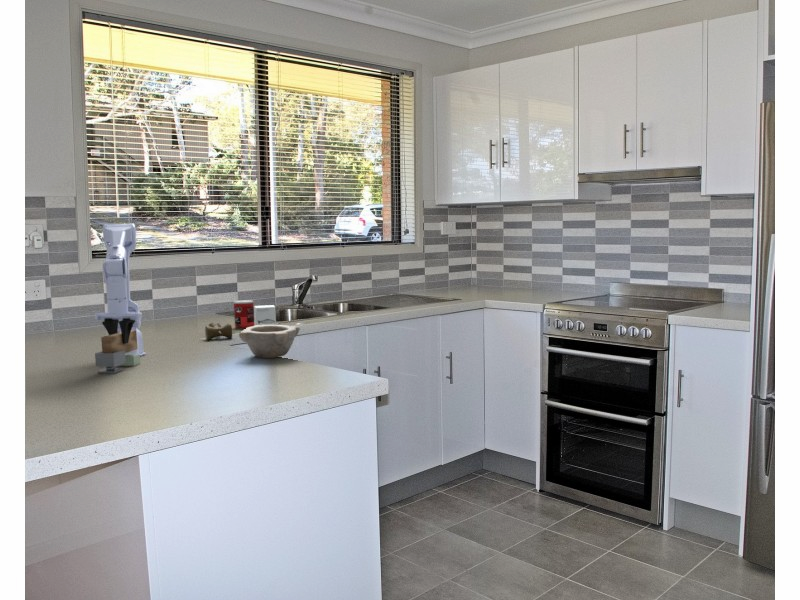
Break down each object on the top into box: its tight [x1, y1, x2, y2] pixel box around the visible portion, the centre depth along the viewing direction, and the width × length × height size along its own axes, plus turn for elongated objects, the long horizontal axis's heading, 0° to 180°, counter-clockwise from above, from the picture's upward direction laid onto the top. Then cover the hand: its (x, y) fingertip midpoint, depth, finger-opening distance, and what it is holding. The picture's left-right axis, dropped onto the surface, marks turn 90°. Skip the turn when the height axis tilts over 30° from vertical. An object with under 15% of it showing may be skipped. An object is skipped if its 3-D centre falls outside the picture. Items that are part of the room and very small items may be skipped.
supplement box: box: [254, 304, 277, 326], centre depth 261 cm, size 7×7×13 cm
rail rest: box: [118, 354, 141, 367], centre depth 221 cm, size 4×5×3 cm
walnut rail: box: [100, 330, 137, 353], centre depth 216 cm, size 14×3×6 cm, turn 170°
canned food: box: [233, 299, 255, 329], centre depth 295 cm, size 8×8×11 cm
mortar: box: [238, 324, 301, 359], centre depth 230 cm, size 17×17×9 cm
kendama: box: [204, 321, 233, 341], centre depth 270 cm, size 6×10×20 cm
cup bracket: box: [94, 350, 126, 375], centre depth 211 cm, size 6×6×6 cm
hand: (120, 343), depth 216 cm, fingers closed on walnut rail, 3 cm apart
